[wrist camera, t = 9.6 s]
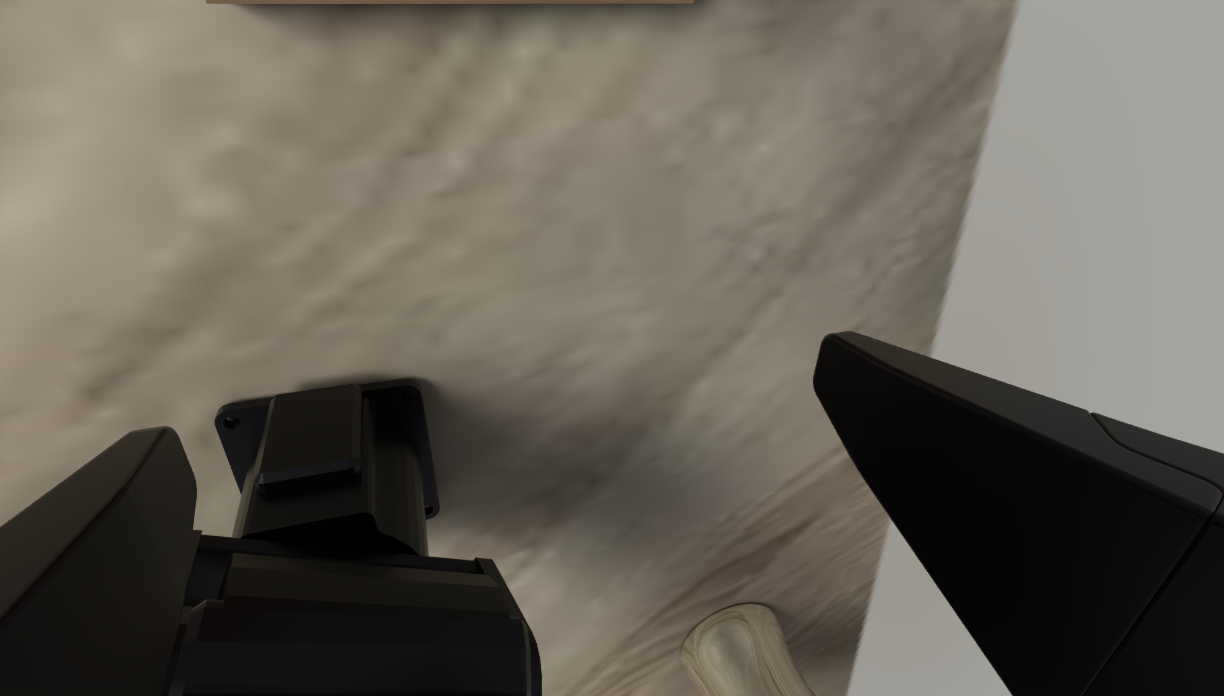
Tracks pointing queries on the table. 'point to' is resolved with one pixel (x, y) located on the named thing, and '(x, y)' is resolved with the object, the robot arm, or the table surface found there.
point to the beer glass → (742, 655)
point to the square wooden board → (447, 1)
